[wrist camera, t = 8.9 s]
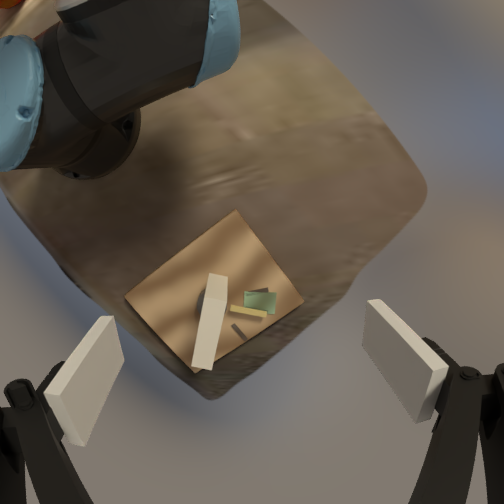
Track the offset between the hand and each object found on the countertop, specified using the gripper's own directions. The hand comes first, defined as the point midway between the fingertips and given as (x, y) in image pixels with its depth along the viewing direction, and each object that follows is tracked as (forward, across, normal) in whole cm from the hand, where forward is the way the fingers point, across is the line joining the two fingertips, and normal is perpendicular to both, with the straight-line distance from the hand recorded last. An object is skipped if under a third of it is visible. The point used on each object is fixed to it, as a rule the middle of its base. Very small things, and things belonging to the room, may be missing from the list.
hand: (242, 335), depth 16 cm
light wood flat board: (+28, -4, -10) cm, 30 cm away
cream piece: (+27, -1, -10) cm, 29 cm away
